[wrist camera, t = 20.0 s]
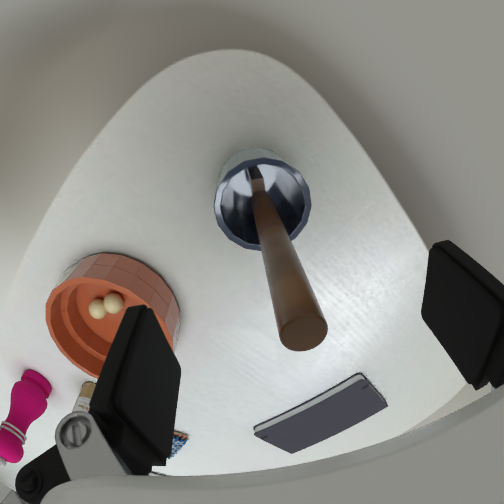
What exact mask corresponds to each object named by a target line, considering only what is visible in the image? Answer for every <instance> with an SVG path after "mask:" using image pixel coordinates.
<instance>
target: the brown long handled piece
mask: <svg viewBox="0 0 504 504" xmlns="http://www.w3.org/2000/svg"><path fill="white" fill-rule="evenodd" d="M248 173H249V179H250V184H251V190H252V197H251V205H252V209H253V214H254V218H255V223H256V228H257V232H258V237H259V242H260V246H261V251H262V256H263V261H264V265H265V270H266V275H267V279H268V284H269V289H270V294H271V299H272V303H273V308H274V313H275V318H276V323H277V327H278V332H279V337H280V341H281V343H282V344H283V345H284V346H285V347H286V348H288V349H290V350H293V351H307V350H310V349H313V348H315V347H316V346H318V345H319V344H320V343H321V342H322V341H323V340H324V339H325V337H326V335H327V331H328V325H327V322H326V320H325V318H324V315H323V313H322V311H321V308H320V306H319V304H318V301H317V299H316V297H315V294H314V292H313V290H312V287H311V285H310V283H309V280H308V278H307V276H306V274H305V271H304V269H303V267H302V265H301V262H300V260H299V258H298V256H297V253H296V251H295V249H294V247H293V245H292V242H291V240H290V238H289V236H288V234H287V231H286V229H285V227H284V225H283V223H282V221H281V218H280V216H279V214H278V212H277V210H276V208H275V206H274V203H273V201H272V199H271V197H270V195H269V194H268V193H267V192H266V190H265V184H264V178H263V176H262V174H261V172H260V170H259V168H253V169H248Z"/></svg>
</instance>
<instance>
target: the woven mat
mask: <svg viewBox="0 0 504 504" xmlns="http://www.w3.org/2000/svg"><path fill="white" fill-rule="evenodd" d="M187 440H189V438H188V437H187V436H186V435H184V434H182V433H179V432H176V431H174V434H173V443H172V453H171V456H170V457H174V456H175V455H174V456H173V454H177V451H178V450H181V448H182V446H183V445H185V443H186V441H187ZM170 457H169V458H168V459H170Z"/></svg>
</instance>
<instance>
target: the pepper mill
mask: <svg viewBox="0 0 504 504" xmlns="http://www.w3.org/2000/svg"><path fill="white" fill-rule="evenodd" d="M51 390H52V388H51V385H50V384H49V382H48V381H47V380H46V379H45V378H44V377H43V376H42V375H40V374H39V373H37V372H35V371H33V370H26V371H25V372H24V373H23V375H22V377H21V381H18V382H16V383H15V384H14V386H13V388H12V392H11V405H10V412H9V415H8V417H7V419H6V420H5V421H2V423H1V425H0V429H1V430H0V466H2V467H4V466H5V465H6V461H7V462H10V463H17V462H19V461H20V460H21V459H22V457H23V454H24V451H23V447H22V445H23V444H25V440H26V436H25V434H26V431H27V429H28V427H29V425H30V424H31V423H32V422H33V421H34V420H36V419H37V418H39V417H40V416H41V415H42V414H43V413H44V412H45V410H46V408H47V401H46V398H48V397H49V395H50V393H51Z"/></svg>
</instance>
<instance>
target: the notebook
mask: <svg viewBox="0 0 504 504" xmlns="http://www.w3.org/2000/svg"><path fill="white" fill-rule="evenodd" d="M386 407H388V405H387V402H386V400H385V399H384V398H383V397H382V396H381V395H380V393H379V392H378V391H377V390H376V389H375V388H374V387H373V385H372V384H371V383H370V382H369V381H368V380H367V378H366V377H365V376H364V375H363V374H362V373H357V374H355V375H354V376H352V377H350V378H349V379H347V380H345V381H343V382H342V383H340V384H338V385H337V386H335V387H333V388H331V389H329V390H328V391H326V392H324V393H322V394H320V395H319V396H317V397H315V398H313V399H311V400H309V401H307V402H305V403H303V404H301V405H299V406H297V407H295V408H293V409H291V410H289V411H287V412H285V413H283V414H281V415H279V416H277V417H274V418H272V419H270V420H268V421H266V422H263V423H261V424H259V425H257V426H255V427H254V430H255V433H254V435H255V436H256V437H258V438H260V439H262V440H264V441H266V442H268V443H270V444H272V445H274V446H276V447H278V448H280V449H283V450H285V451H287V452H289V453H291V454H292V453H295V452H297V451H300V450H302V449H305V448H307V447H309V446H312V445H314V444H316V443H318V442H321V441H323V440H325V439H327V438H329V437H331V436H334V435H336V434H338V433H340V432H342V431H344V430H346V429H348V428H350V427H352V426H354V425H355V424H357V423H359V422H361V421H363V420H365V419H367V418H368V417H370V416H372V415H374V414H376V413H377V412H379V411H381V410H382V409H384V408H386Z"/></svg>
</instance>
